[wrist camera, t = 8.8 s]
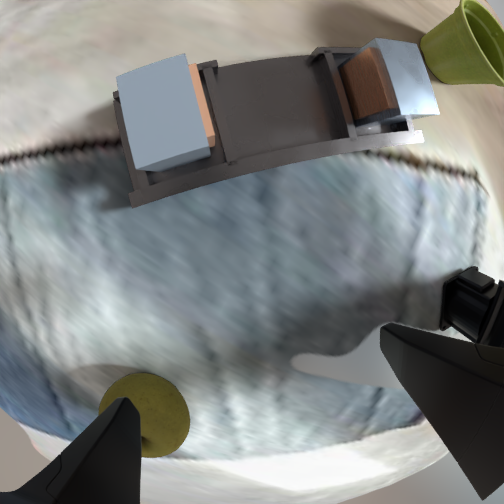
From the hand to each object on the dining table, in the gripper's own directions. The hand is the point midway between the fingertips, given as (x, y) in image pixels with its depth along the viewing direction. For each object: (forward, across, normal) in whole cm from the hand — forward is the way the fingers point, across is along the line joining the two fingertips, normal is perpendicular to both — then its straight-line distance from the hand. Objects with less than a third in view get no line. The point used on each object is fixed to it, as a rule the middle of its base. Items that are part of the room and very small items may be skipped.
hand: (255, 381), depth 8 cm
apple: (+13, +11, +10) cm, 20 cm away
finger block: (+12, +1, -10) cm, 16 cm away
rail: (+13, -6, -10) cm, 17 cm away
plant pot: (+13, -26, -15) cm, 33 cm away
